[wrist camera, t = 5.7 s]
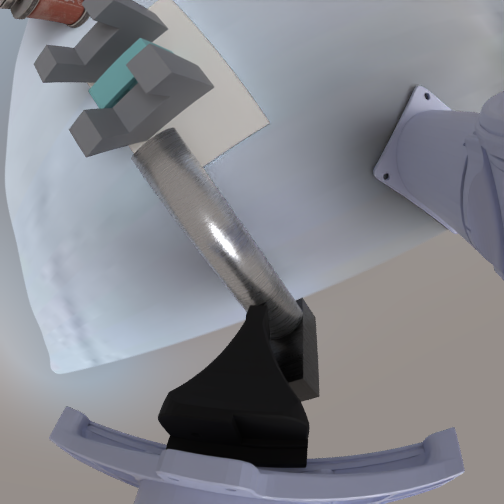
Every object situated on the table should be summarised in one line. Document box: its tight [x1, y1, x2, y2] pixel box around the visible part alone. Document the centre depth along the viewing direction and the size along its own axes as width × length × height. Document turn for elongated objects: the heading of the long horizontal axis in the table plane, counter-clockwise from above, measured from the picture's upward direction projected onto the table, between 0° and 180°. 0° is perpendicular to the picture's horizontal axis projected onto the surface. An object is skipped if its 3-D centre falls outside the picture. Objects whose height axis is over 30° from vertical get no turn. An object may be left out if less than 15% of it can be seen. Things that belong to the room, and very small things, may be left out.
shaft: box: [131, 127, 319, 401], centre depth 12 cm, size 14×2×6 cm, turn 33°
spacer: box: [89, 38, 174, 109], centre depth 13 cm, size 2×4×4 cm, turn 123°
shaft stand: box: [34, 0, 270, 167], centre depth 13 cm, size 13×9×8 cm
